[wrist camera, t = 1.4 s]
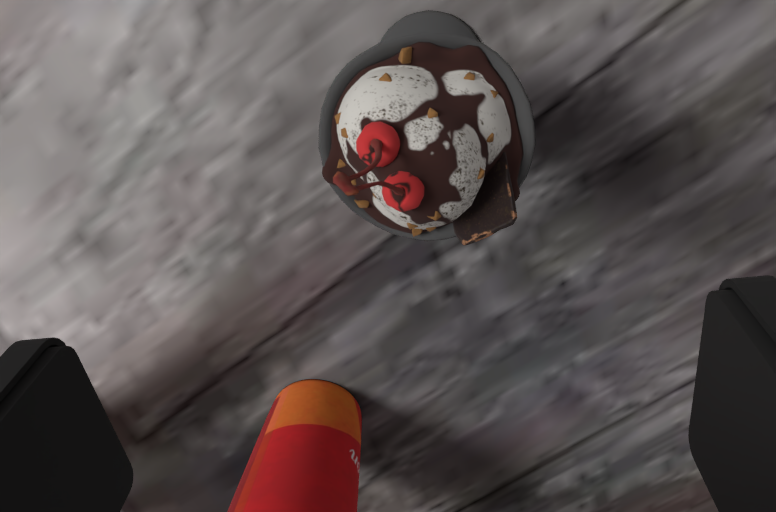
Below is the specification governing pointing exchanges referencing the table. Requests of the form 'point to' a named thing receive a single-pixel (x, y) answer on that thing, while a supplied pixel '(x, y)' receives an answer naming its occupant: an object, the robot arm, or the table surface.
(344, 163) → the sundae
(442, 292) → the table surface
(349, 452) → the paper cup
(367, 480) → the table surface
